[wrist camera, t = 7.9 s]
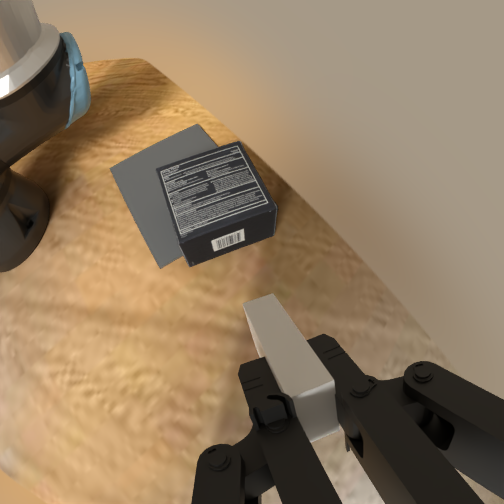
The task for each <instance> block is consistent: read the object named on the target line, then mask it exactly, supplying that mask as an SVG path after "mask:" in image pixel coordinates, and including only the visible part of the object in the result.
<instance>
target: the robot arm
mask: <svg viewBox="0 0 504 504" xmlns="http://www.w3.org/2000/svg"><path fill="white" fill-rule="evenodd" d="M90 103H91V93H90V86H89V81H88V77H87V73H86V70H85V67H84V66H83V61H82V56H81V53H80V50H79V48H78V45H77V43H76V41H75V39H74V37H73V36H72V34H71V33H69V32H64V33H59V32H58V30H57V28H56V27H55V26H53V25H51V24H48V23H40V22H39V19H38V16H37V14H36V11H35V8H34V5H33V3H32V0H0V272H6V271H9V270H11V269H13V268H15V267H17V266H18V265H20V264H21V263H22V262H23V261H24V260H25V259H26V258H27V257H28V256H29V255H30V254H31V253H32V252H33V250H34V249H35V248H36V246H37V245H38V243H39V241H40V240H41V238H42V236H43V233H44V231H45V229H46V226H47V223H48V218H49V210H50V207H49V201H48V198H47V196H46V194H45V193H44V192H43V190H42V189H41V188H40V187H39V186H38V185H37V184H36V183H35V182H33V181H31V180H29V179H27V178H26V177H24V176H22V175H20V174H18V173H16V172H15V171H13V170H11V168H10V166H12V165H13V164H14V163H16V162H17V161H18V160H20V159H21V158H22V157H24V156H25V155H27V154H28V153H29V152H31V151H32V150H34V149H35V148H37V147H38V146H39V145H41V144H42V143H44V142H45V141H47V140H48V139H50V138H51V137H53V136H55V135H56V134H58V133H59V132H61V131H62V130H65V129H67V128H68V127H69V126H70V124H72V123H73V122H75V121H76V120H77V119H79V118H80V117H82V116H83V115H84V114H85V113H86V112H87V111H88V109H89V107H90ZM242 304H243V307H244V310H245V314H246V317H247V320H248V323H249V327H250V330H251V333H252V337H253V340H254V343H255V346H256V349H257V352H258V354H259V356H260V358H259V359H256V360H253V361H250V362H247V363H244V364H241V365H240V369H239V372H238V376H239V379H240V382H241V385H242V388H243V391H244V394H245V397H246V400H247V403H248V406H249V416H250V418H251V420H252V423H253V426H252V429H251V431H250V433H249V434H248V435H247V436H246V437H245V438H244V439H243V440H241V441H240V442H238V443H236V444H235V445H233V446H231V445H229V444H218V445H213V446H211V447H209V448H207V449H206V450H204V452H203V453H202V454H201V455H200V456H199V459H198V462H197V468H196V475H195V482H194V489H193V496H192V503H191V504H261V494H262V493H264V492H265V491H267V490H269V489H270V488H272V487H273V486H275V485H276V488H277V491H278V493H279V496H280V499H281V501H282V504H342V502H341V500H340V498H339V496H338V495H337V493H336V491H335V489H334V487H333V485H332V483H331V481H330V479H329V478H328V476H327V474H326V472H325V470H324V468H323V466H322V464H321V462H320V460H319V458H318V456H317V455H316V453H315V451H314V449H313V447H312V445H311V442H313V441H316V440H318V439H321V438H323V437H326V436H328V435H330V434H333V433H335V432H337V431H339V430H340V428H339V423H340V425H341V426H342V428H343V430H344V432H345V445H346V450H347V452H348V451H350V448H351V450H352V451H353V453H354V454H355V456H356V458H357V459H358V461H359V463H360V464H361V466H362V467H363V469H364V471H365V472H366V474H367V475H368V477H369V479H370V480H371V482H372V483H373V485H374V487H375V488H376V490H377V491H378V493H379V494H380V496H381V498H382V499H383V501H384V502H385V504H484V502H483V501H482V500H481V499H480V498H479V496H478V495H477V494H476V493H475V492H474V491H473V489H472V488H471V487H470V486H469V485H468V483H467V482H466V481H465V480H464V479H463V478H462V476H461V475H460V474H459V473H458V472H457V471H456V469H457V470H459V471H460V472H462V473H463V474H465V475H466V476H468V477H469V478H471V479H472V480H474V481H475V482H477V483H478V484H480V485H482V486H483V487H485V488H486V489H488V490H489V491H491V492H493V493H494V494H496V495H497V496H499V497H501V498H502V499H504V400H503V399H501V398H499V397H497V396H495V395H494V394H492V393H489V392H488V391H486V390H484V389H482V388H480V387H478V386H476V385H474V384H472V383H471V382H469V381H467V380H465V379H463V378H461V377H459V376H457V375H455V374H453V373H452V372H450V371H448V370H446V369H444V368H442V367H440V366H438V365H436V364H434V363H431V362H428V361H420V362H416V363H413V364H412V365H410V366H408V368H407V369H406V370H405V372H404V376H403V377H399V378H394V379H390V380H377V379H376V378H375V377H372V376H369V375H365V374H364V373H363V372H362V371H361V370H360V368H359V367H358V366H357V365H356V364H355V363H354V361H353V360H352V359H351V358H350V357H349V355H348V354H347V353H345V351H344V350H343V348H342V347H340V345H339V344H338V343H337V341H336V340H335V339H334V338H332V337H330V336H328V335H326V334H322V335H319V336H317V337H314V338H311V339H309V340H306V339H305V338H304V337H303V335H302V334H301V332H300V331H299V330H298V328H297V327H296V325H295V324H294V322H293V321H292V320H291V318H290V317H289V315H288V314H287V312H286V311H285V310H284V308H283V307H282V305H281V304H280V302H279V301H278V300H277V298H276V297H275V295H274V294H273V293H272V294H269V295H266V296H263V297H260V298H257V299H254V300H251V301H248V302H245V303H242ZM455 468H456V469H455Z"/></svg>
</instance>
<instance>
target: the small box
mask: <svg viewBox="0 0 504 504" xmlns="http://www.w3.org/2000/svg"><path fill="white" fill-rule="evenodd" d="M156 173H157V176H158V179H159V181H160V185H161V188H162V191H163V195H164V198H165V202H166V205H167V208H168V211H169V215H170V218H171V221H172V225H173V227H174V231H175V234H176V238H177V243H178V246H179V248H180V250H181V252H182V254H183V256H184V258H185V260H186V262H187V264H188V266H189V267H192V266H194V265H197V264H199V263H202V262H205V261H207V260H210V259H213V258H215V257H218V256H221V255H223V254H226V253H229V252H231V251H234V250H237V249H239V248H242V247H245V246H247V245H250V244H253V243H255V242H258V241H261V240H264V239H266V238H269V237H272V236H274V233H275V229H276V226H275V225H276V215H277V210H278V206H277V204H276V203H275V202H274V201H273V199H272V197H271V196H270V194H269V192H268V190H267V188H266V187H265V185H264V183H263V181H262V179H261V177H260V176H259V174H258V172H257V170H256V169H255V167H254V165H253V163H252V162H251V160H250V158H249V156H248V155H247V153H246V151H245V149H244V147H243V145H242V143H241V141H237V142H233V143H230V144H227V145H224V146H220V147H217V148H214V149H211V150H208V151H205V152H202V153H199V154H196V155H193V156H190V157H187V158H184V159H181V160H178V161H175V162H172V163H170V164H167V165H164V166H161V167H158V168H156Z"/></svg>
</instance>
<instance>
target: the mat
mask: <svg viewBox="0 0 504 504" xmlns="http://www.w3.org/2000/svg"><path fill="white" fill-rule="evenodd" d="M217 147H218V146H217V145H216V144H215V143H214V142H213V141H212V140H211V138H210V137H209V136H208V135H207V134H206V133H205V132H204V131H203V129H202V128H201V127H200V126H199V125H198V124H196V125H193V126H191V127H189V128H187V129H185V130H183V131H180V132H178V133H176V134H174V135H172V136H170V137H168V138H166V139H164V140H162V141H160V142H158V143H156V144H154V145H152V146H150V147H148V148H146V149H144V150H142V151H140V152H138V153H137V154H135V155H133V156H131V157H129V158H127V159H125V160H124V161H122V162H120V163H118V164H116V165H115V166H113V167H111V168H110V170H111V172H112V174H113V177H114V179H115V181H116V183H117V185H118V187H119V189H120V191H121V194H122V196H123V198H124V200H125V202H126V204H127V206H128V208H129V210H130V212H131V214H132V216H133V218H134V220H135V222H136V224H137V226H138V228H139V230H140V232H141V234H142V236H143V238H144V240H145V241H146V243H147V245H148V247H149V249H150V251H151V253H152V255H153V257H154V258H155V260H156V262H157V264H158V266H159V268H160V269H161V268H163V267H164V266H166V265H168V264H170V263H171V262H173V261H175V260H176V259H178V258H180V257H181V256H183V254H182V252H181V250H180V248H179V246H178V243H177V238H176V234H175V231H174V227H173V225H172V221H171V218H170V215H169V211H168V208H167V205H166V202H165V198H164V195H163V191H162V188H161V185H160V181H159V179H158V176H157V173H156V168H158V167H161V166H164V165H167V164H170V163H172V162H175V161H178V160H181V159H184V158H187V157H190V156H193V155H196V154H199V153H202V152H205V151H208V150H211V149H214V148H217Z"/></svg>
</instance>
